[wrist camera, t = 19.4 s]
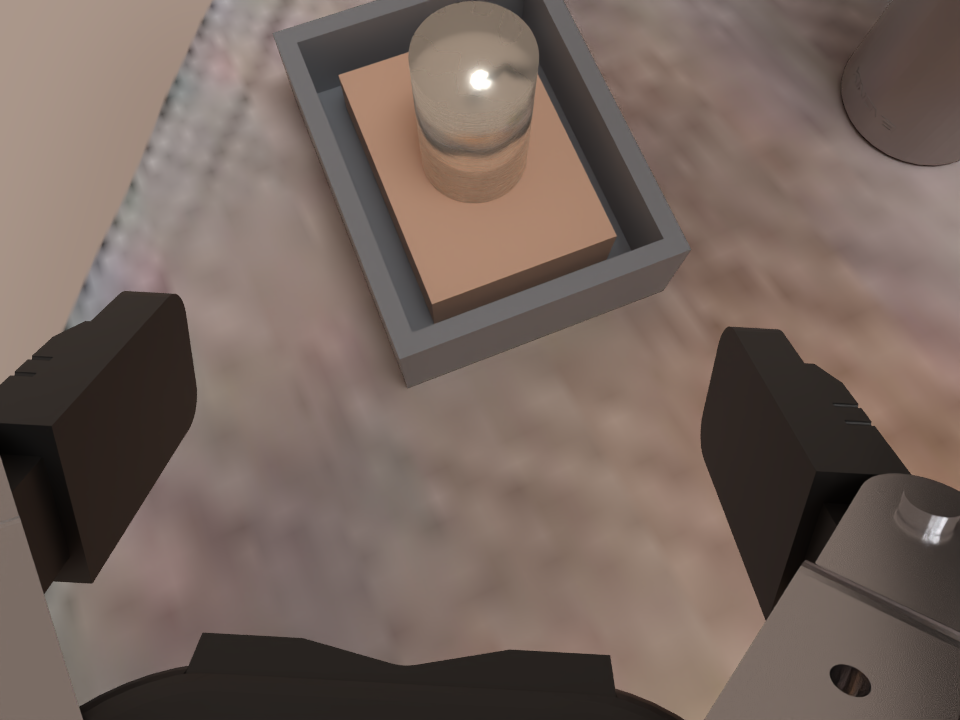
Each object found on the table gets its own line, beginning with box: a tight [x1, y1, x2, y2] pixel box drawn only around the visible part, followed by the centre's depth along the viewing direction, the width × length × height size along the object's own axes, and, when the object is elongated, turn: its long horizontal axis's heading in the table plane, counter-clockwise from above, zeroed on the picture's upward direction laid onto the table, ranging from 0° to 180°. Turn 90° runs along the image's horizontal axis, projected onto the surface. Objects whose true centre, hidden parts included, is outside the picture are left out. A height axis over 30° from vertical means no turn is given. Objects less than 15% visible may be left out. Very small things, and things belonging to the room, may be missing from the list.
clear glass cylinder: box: [408, 1, 539, 203], centre depth 37 cm, size 6×6×8 cm
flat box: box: [338, 52, 617, 324], centre depth 42 cm, size 10×14×3 cm
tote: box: [273, 0, 691, 388], centre depth 42 cm, size 15×19×6 cm
